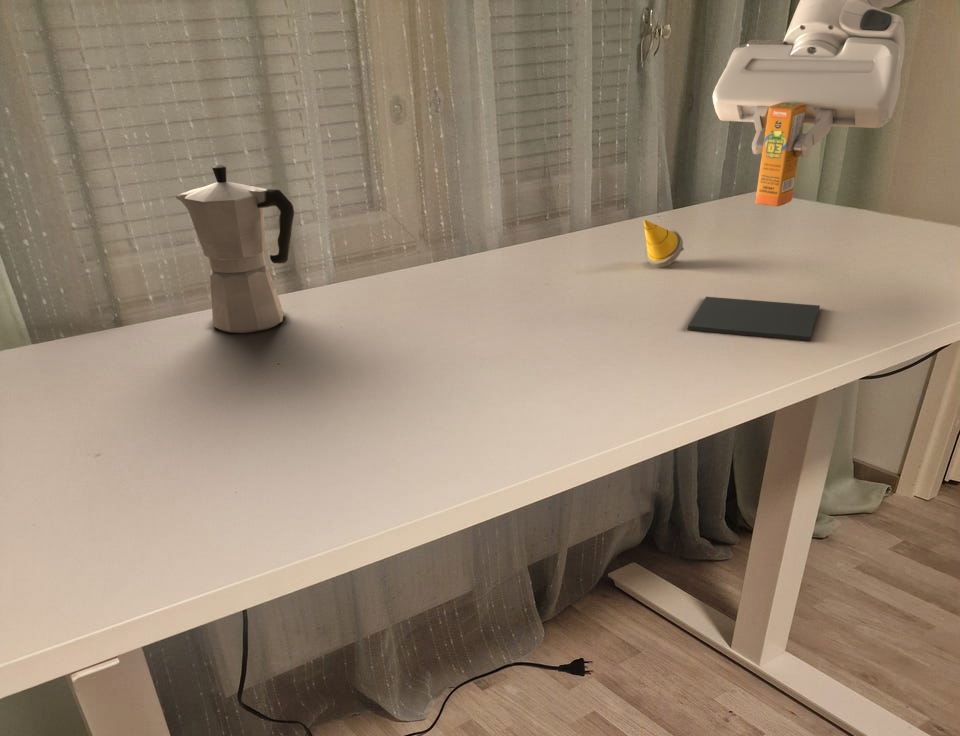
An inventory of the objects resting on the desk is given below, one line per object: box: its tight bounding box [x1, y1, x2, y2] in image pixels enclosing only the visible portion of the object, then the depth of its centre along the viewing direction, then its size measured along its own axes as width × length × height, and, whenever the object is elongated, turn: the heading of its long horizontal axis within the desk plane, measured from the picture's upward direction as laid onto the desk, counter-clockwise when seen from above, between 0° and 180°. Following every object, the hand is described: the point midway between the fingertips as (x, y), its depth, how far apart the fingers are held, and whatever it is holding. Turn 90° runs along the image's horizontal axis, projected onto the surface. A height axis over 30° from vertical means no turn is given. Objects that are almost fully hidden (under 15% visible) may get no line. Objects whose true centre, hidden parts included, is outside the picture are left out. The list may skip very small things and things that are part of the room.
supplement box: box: [755, 102, 806, 207], centre depth 98 cm, size 3×3×10 cm
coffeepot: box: [175, 163, 295, 334], centre depth 105 cm, size 15×9×18 cm, turn 72°
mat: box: [687, 296, 820, 342], centre depth 105 cm, size 14×12×1 cm
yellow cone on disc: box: [643, 219, 685, 268], centre depth 122 cm, size 5×5×10 cm
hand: (779, 152), depth 98 cm, fingers closed on supplement box, 3 cm apart
